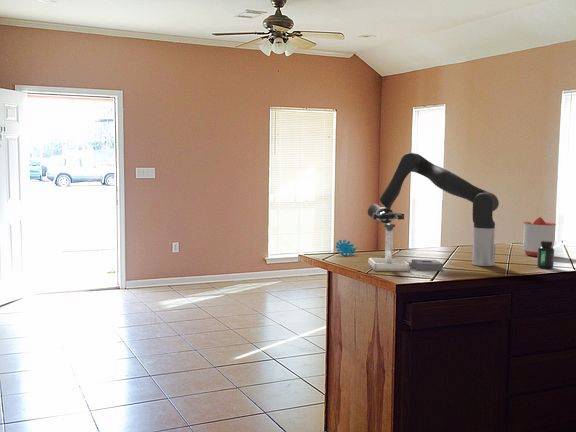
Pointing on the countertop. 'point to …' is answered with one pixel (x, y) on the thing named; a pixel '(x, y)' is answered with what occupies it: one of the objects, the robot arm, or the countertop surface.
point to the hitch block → (427, 265)
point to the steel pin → (389, 243)
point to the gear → (345, 248)
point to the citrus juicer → (537, 235)
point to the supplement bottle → (545, 255)
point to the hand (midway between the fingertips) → (391, 217)
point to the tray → (380, 265)
